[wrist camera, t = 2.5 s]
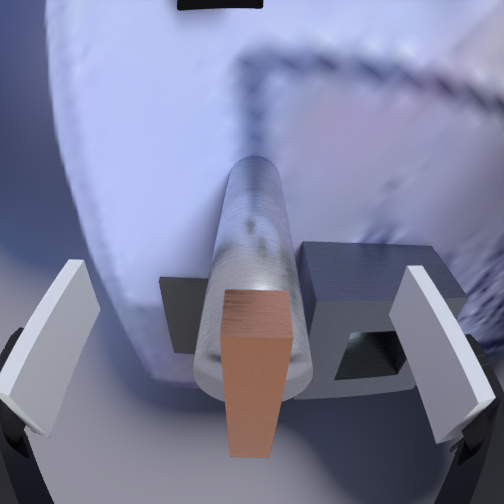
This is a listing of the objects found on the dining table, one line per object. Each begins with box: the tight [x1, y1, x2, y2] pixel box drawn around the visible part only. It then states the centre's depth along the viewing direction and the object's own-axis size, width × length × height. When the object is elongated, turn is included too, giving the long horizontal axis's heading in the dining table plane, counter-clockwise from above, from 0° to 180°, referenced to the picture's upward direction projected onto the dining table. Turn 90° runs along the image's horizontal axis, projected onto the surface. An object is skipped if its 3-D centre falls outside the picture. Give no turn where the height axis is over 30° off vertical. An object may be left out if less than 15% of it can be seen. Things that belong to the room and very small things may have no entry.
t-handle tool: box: [192, 156, 313, 458], centre depth 15 cm, size 4×7×17 cm, turn 179°
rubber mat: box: [159, 277, 208, 354], centre depth 30 cm, size 10×10×1 cm
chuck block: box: [293, 242, 468, 399], centre depth 26 cm, size 12×12×7 cm
